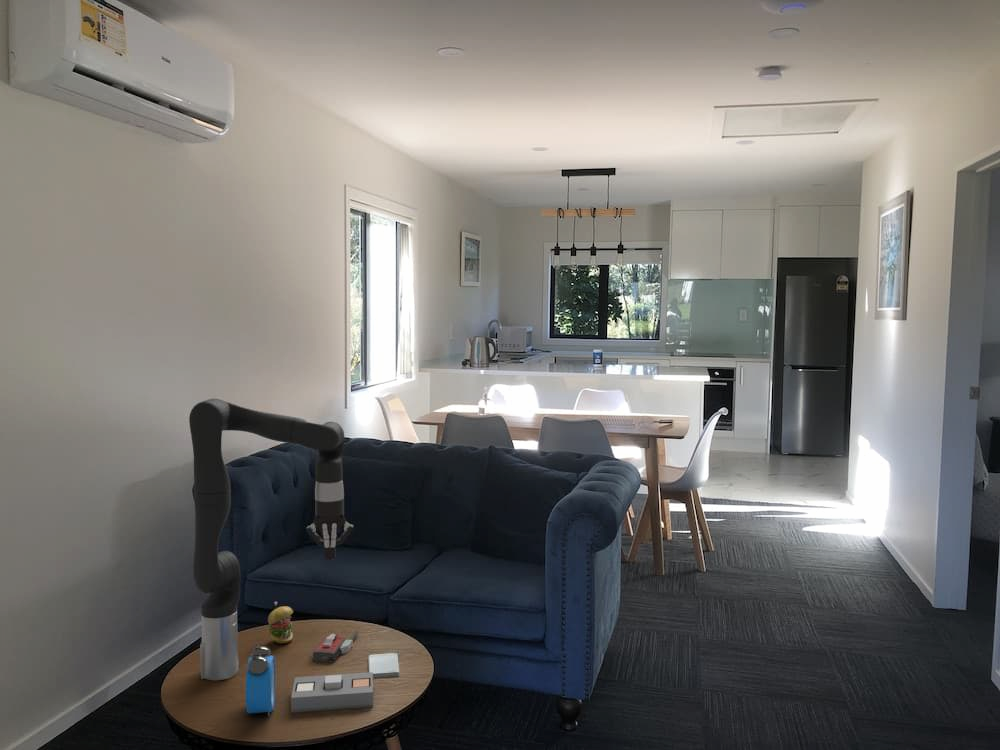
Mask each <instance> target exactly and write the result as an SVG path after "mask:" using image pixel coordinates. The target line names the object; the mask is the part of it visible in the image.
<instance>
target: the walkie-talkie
mask: <svg viewBox="0 0 1000 750" xmlns="http://www.w3.org/2000/svg"><path fill="white" fill-rule="evenodd" d="M358 634H359V631H358V630H356V631H354V633H353V634H352V636H351V637H350V638H349V639H346V637H344V636H339V635H338V634H337V633H336V634H335V633H329V634H328V635H327V636H324V638H323V639H321V641H320V642H319V644H318V645H317V646H316V648H315V649H314V650H313V651H312V660H313V662H323V661H325V662H326V663H328V662H327V661H331V662H330V663H333V662H336V660H337V659H338V657H339V656H340V655H343V653H344V654H346V653H348V652H349V651H350V650H351V649H352V648H353V646H354V643H353V641H354V640H355V638H356V637H357V635H358ZM347 651H348V652H347ZM345 652H346V653H345ZM339 654H340V655H339ZM336 658H337V659H336ZM335 659H336V660H335ZM332 661H333V662H332ZM325 662H324V663H325Z"/></svg>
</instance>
